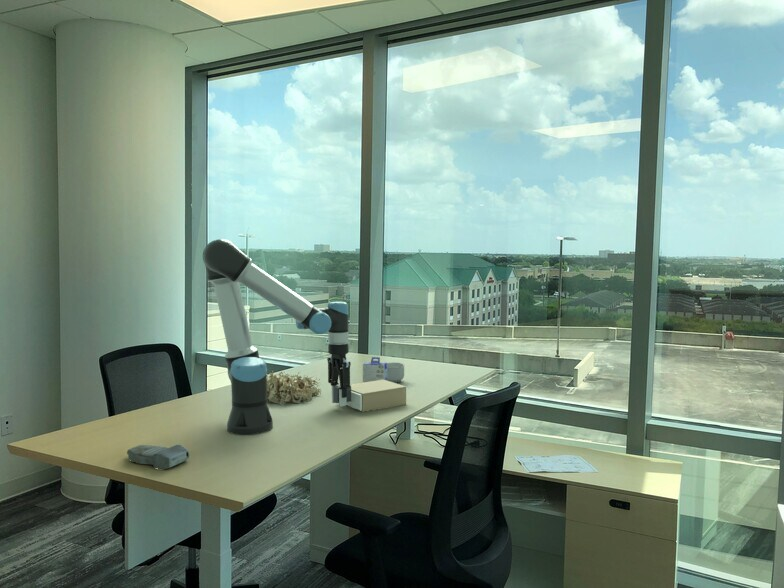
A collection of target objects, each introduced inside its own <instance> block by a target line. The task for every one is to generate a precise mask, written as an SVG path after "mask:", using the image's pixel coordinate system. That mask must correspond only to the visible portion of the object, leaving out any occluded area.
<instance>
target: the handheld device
mask: <svg viewBox="0 0 784 588" xmlns="http://www.w3.org/2000/svg"><path fill="white" fill-rule="evenodd" d="M189 453H190V452H189V450H188V449H187V447H185V446H183V445H181V444H175V445H173V446H170V447H167V446H166V447H165V446H160V445H153V444H152V445H149V444H140V445H136V446H134V447H131V448H130V449H128V450H127V451H126V454H127V455H128V456H127V457H128V461H129V460H131V461H132V462H131V461H130V462H131V463H133V462H136V463H135V464H139V465H141V464H142V465H153V468H158V469H163V470H167V469H170V468H172V467H175V466H176V465H179V464H181V463H183V462H186V461H187V460H189V459H190V457H189V456H190V454H189Z"/></svg>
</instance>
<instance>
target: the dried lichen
mask: <svg viewBox="0 0 784 588" xmlns="http://www.w3.org/2000/svg"><path fill="white" fill-rule="evenodd" d="M284 373H285V371H282V370H280V372H278V374H275V375H274V370H272V371H271V372H269V373H267V403H274V404H280V405H285V404H294V402H295V404H298V403H299V404H301V402H303V401H307V402H311V401H312V400H313V397H312V395H315V394H316V396H319V395H322V389H321V388H320V387H319V386H320V385H321V384H320V382H319V381H320V378H319V379H318V377H315V375H313V376H308V375H306V374H305V375H303V377H302V376H301V375H299V374H300V373H301V371H299V372H298V373H297V374H291V375H290V374H289V373H286V374H284ZM268 374H269V376H268ZM318 387H319V388H318ZM310 400H311V401H310Z"/></svg>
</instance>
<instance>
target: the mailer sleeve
mask: <svg viewBox="0 0 784 588" xmlns="http://www.w3.org/2000/svg"><path fill="white" fill-rule="evenodd" d="M350 385H351V391H353V392H356V393H358V394H361V395H362V410H361V411H367V412H370V411H369V410H372V411H377V410H376V409H378V410H382V408H383V409H387V408H388V409H389V408H394V407H398V406H404V405H407V386H405V385H402V384H399V383H393V382H390V381H387V380H377V381H370V382H363V381H362V382H357V383H352V384H351V383H350ZM361 411H360V412H361Z"/></svg>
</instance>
